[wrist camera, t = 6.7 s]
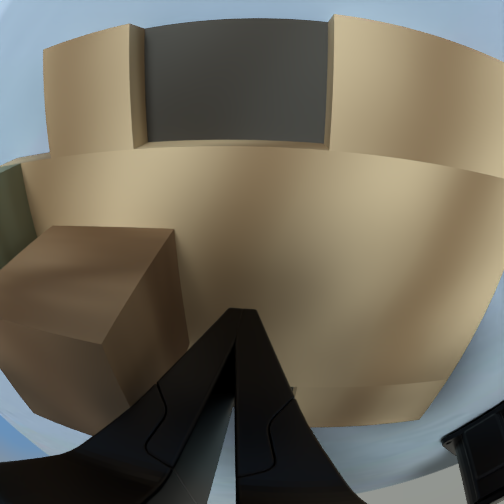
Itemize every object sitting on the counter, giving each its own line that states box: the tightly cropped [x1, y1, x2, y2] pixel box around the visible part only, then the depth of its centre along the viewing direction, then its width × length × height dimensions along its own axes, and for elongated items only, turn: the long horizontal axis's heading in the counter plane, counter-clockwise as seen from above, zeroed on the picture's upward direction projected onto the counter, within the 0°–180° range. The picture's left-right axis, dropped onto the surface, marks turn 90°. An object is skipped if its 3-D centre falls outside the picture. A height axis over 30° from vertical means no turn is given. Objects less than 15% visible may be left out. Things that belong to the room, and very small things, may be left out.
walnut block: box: [0, 225, 190, 436], centre depth 8 cm, size 4×4×4 cm
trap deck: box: [0, 14, 504, 427], centre depth 9 cm, size 18×16×4 cm
